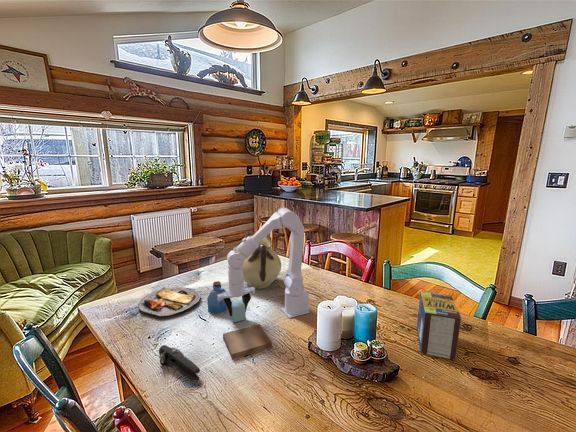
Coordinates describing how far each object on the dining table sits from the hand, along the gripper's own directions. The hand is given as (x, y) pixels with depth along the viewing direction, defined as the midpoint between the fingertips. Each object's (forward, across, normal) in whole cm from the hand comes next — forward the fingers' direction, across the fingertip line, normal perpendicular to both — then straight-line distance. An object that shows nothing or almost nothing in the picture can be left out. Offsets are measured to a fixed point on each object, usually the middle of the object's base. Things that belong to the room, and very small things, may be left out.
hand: (237, 313), depth 114 cm
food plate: (+3, +23, -26) cm, 35 cm away
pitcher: (+3, -20, -27) cm, 34 cm away
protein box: (+4, -58, +44) cm, 73 cm away
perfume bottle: (+3, +5, -12) cm, 13 cm away
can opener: (+4, +24, +18) cm, 30 cm away
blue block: (+2, 0, 0) cm, 2 cm away
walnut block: (+4, +1, +15) cm, 15 cm away
